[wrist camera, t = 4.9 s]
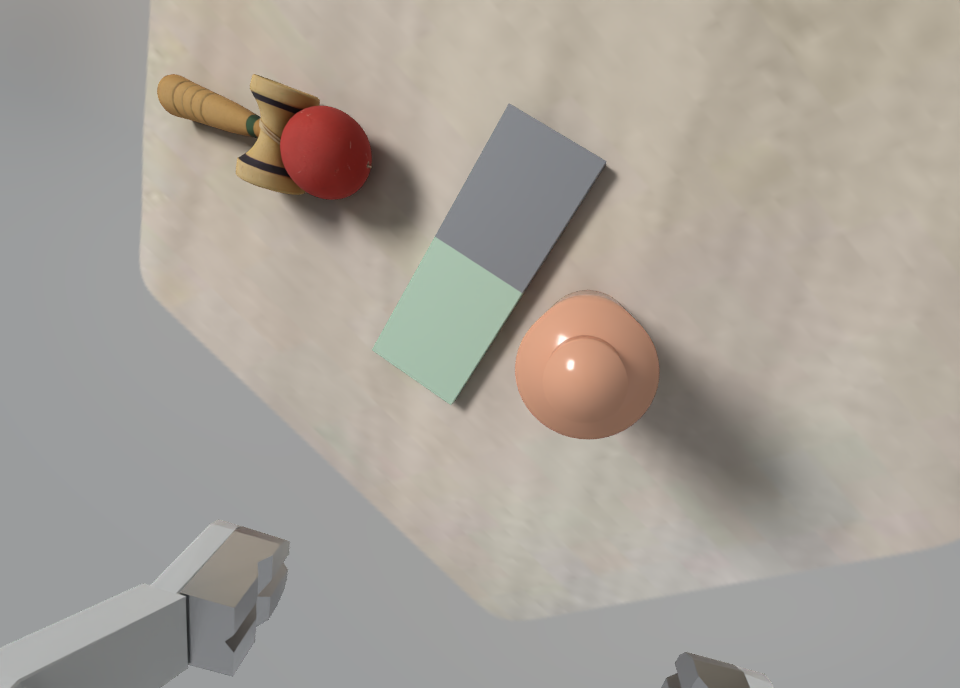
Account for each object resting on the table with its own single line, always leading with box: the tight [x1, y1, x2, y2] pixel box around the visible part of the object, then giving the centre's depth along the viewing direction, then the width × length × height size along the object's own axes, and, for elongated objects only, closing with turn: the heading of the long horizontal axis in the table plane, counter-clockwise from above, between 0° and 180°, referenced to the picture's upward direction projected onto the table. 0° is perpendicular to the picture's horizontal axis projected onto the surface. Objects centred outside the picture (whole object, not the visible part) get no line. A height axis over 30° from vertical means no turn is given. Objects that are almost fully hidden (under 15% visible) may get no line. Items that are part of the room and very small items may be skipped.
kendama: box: [157, 74, 372, 200], centre depth 33 cm, size 8×6×18 cm
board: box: [372, 104, 606, 405], centre depth 32 cm, size 20×8×1 cm, turn 148°
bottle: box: [515, 290, 659, 439], centre depth 24 cm, size 6×6×15 cm
